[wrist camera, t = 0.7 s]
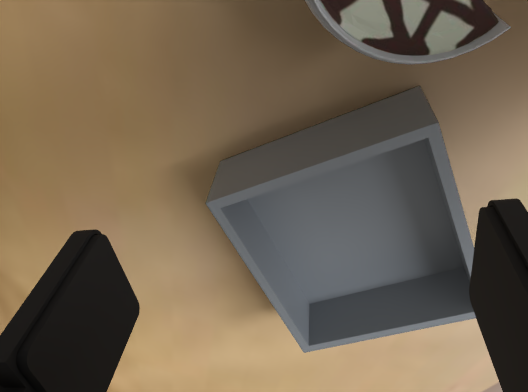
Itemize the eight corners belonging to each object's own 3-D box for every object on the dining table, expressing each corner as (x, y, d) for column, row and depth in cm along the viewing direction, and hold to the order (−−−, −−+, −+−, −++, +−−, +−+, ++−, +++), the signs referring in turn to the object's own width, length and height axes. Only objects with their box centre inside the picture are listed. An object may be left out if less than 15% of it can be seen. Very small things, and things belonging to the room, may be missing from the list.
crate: (419, 85, 32) (438, 122, 27) (471, 263, 41) (492, 314, 36) (220, 161, 37) (205, 203, 32) (305, 303, 46) (303, 352, 41)
